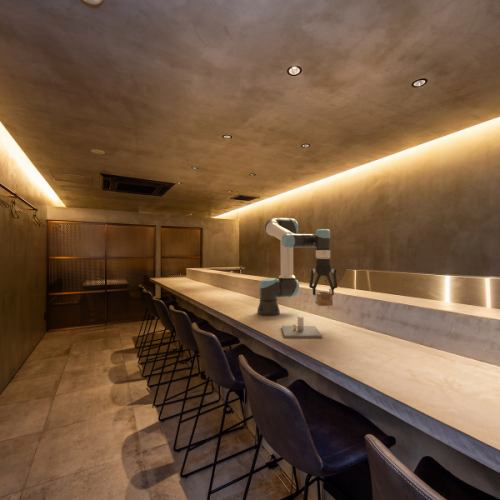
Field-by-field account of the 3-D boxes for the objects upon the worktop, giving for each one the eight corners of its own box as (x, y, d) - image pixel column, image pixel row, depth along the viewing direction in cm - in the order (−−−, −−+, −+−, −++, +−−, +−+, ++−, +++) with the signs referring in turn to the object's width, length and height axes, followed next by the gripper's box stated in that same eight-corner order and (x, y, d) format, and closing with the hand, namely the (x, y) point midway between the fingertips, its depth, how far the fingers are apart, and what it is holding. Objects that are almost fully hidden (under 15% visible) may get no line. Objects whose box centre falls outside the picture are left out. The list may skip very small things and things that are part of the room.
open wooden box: (314, 302, 159) (314, 291, 159) (327, 302, 159) (327, 291, 159) (318, 305, 149) (318, 294, 149) (332, 305, 149) (332, 294, 149)
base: (281, 328, 157) (281, 313, 157) (315, 328, 156) (314, 313, 157) (284, 337, 139) (284, 321, 139) (322, 338, 138) (322, 321, 139)
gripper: (305, 258, 151) (305, 302, 151) (344, 258, 150) (344, 302, 150) (303, 258, 158) (303, 300, 158) (339, 258, 158) (340, 300, 158)
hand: (323, 301), depth 154 cm, fingers closed on open wooden box, 7 cm apart
